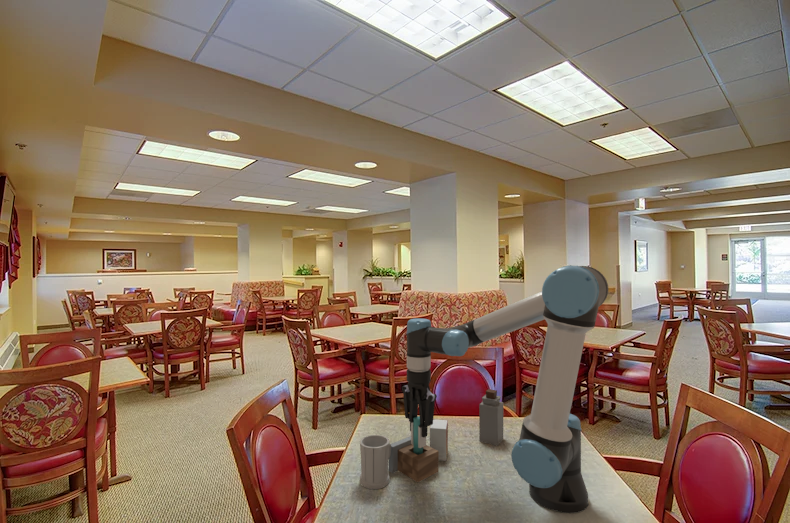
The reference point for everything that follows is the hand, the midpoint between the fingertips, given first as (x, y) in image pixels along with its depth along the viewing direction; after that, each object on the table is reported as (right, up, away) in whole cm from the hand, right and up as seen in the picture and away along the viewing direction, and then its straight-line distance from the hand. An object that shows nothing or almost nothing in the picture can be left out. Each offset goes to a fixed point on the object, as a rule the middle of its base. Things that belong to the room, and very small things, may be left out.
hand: (418, 444), depth 122 cm
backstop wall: (-4, -9, +4) cm, 10 cm away
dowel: (0, -4, 0) cm, 4 cm away
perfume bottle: (+28, -9, +22) cm, 37 cm away
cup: (-13, -9, -5) cm, 16 cm away
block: (0, -9, 0) cm, 9 cm away
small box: (+8, -9, +11) cm, 16 cm away
